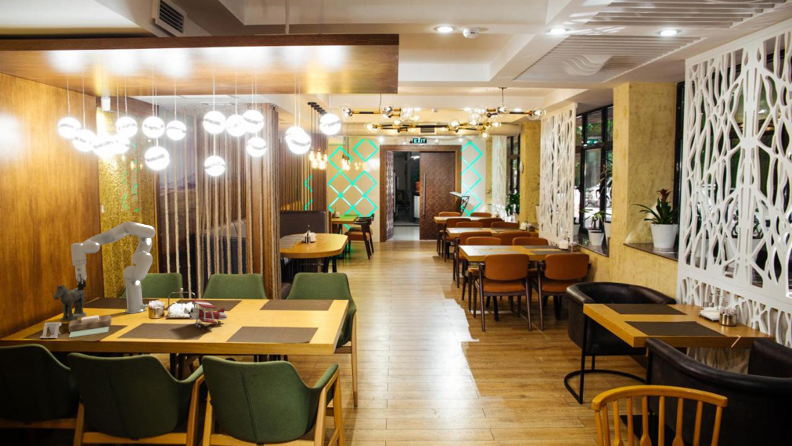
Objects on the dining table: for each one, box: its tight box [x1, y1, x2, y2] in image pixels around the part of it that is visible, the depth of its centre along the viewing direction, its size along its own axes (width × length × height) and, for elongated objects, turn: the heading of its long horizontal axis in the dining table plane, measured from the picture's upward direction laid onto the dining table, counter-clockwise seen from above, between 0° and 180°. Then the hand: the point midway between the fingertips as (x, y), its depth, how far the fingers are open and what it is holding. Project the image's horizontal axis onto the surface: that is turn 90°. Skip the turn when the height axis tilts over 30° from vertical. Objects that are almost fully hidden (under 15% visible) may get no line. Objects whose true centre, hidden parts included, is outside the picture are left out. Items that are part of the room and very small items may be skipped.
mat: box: [68, 327, 110, 339], centre depth 314 cm, size 20×12×1 cm, turn 117°
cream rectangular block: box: [80, 315, 100, 323], centre depth 326 cm, size 9×6×2 cm, turn 117°
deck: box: [68, 315, 112, 333], centre depth 326 cm, size 22×14×4 cm, turn 117°
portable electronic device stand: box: [39, 321, 62, 339], centre depth 307 cm, size 9×8×8 cm
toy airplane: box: [183, 299, 228, 329], centre depth 320 cm, size 27×23×15 cm
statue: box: [52, 284, 87, 322], centre depth 343 cm, size 25×10×25 cm, turn 169°
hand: (82, 288), depth 334 cm, fingers open, 9 cm apart
